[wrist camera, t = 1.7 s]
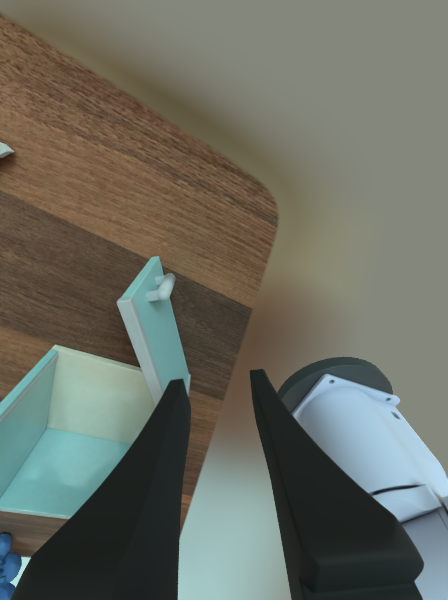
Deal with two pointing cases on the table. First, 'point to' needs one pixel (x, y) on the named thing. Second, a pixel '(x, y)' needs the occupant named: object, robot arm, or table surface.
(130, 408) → the turquoise open box
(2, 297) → the table surface
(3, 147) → the necklace
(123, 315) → the turquoise cabinet door
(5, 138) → the table surface
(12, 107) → the table surface
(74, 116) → the table surface
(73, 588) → the robot arm
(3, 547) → the grapes
